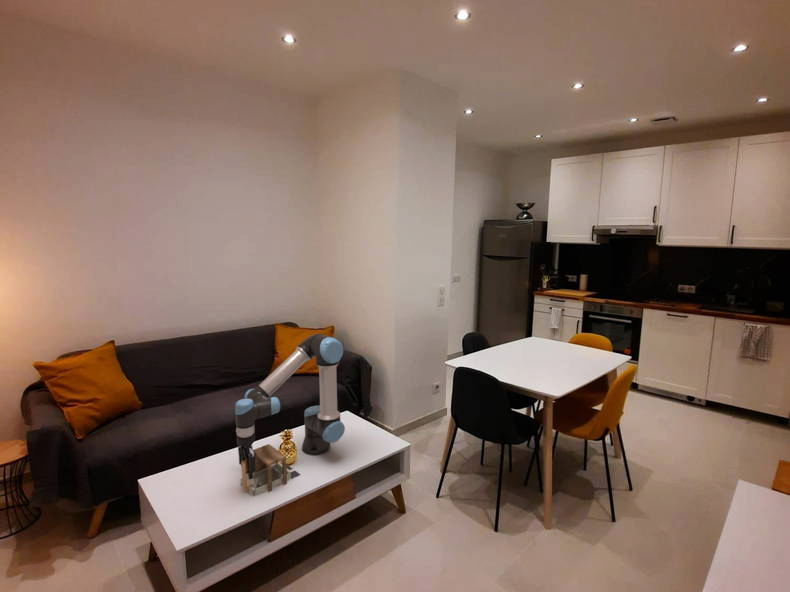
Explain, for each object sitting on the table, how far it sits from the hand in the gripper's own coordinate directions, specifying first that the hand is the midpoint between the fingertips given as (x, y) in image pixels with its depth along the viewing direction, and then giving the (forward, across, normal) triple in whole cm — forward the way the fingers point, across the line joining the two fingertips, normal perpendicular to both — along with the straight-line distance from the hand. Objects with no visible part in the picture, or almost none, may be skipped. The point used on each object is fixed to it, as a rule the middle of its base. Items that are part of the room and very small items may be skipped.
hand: (248, 482), depth 187 cm
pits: (+4, 0, +21) cm, 21 cm away
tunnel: (+4, 0, +10) cm, 11 cm away
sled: (+3, 0, +8) cm, 9 cm away
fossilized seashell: (+4, +1, +10) cm, 11 cm away
